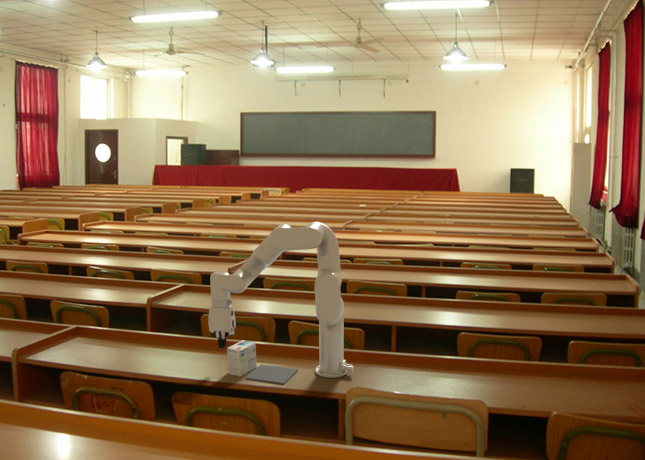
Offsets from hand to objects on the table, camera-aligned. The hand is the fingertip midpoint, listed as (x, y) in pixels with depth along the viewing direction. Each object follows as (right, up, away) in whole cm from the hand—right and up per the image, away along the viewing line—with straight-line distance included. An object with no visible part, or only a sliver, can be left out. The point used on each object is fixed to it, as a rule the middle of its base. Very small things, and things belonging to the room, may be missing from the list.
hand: (222, 347), depth 248 cm
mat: (+20, -10, -6) cm, 23 cm away
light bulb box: (+8, -9, -1) cm, 12 cm away
